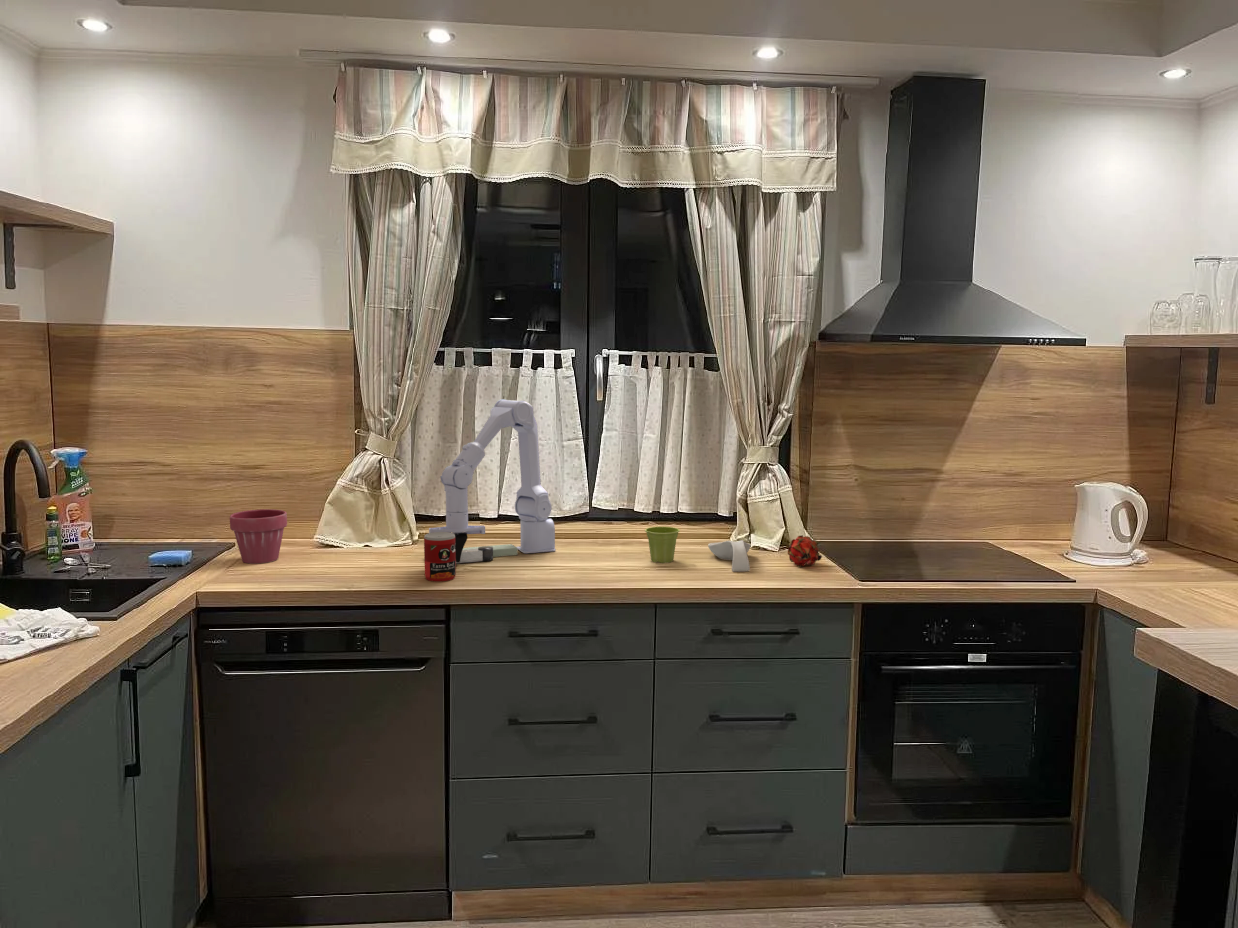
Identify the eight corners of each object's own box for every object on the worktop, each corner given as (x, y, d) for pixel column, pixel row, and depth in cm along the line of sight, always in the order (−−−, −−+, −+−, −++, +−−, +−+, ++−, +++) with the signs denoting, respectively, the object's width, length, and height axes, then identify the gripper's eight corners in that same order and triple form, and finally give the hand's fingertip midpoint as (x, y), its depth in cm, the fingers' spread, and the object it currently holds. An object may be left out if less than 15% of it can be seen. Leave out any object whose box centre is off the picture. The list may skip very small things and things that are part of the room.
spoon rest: (704, 553, 264) (705, 528, 263) (745, 553, 265) (746, 528, 264) (719, 573, 241) (720, 546, 240) (764, 572, 242) (765, 545, 241)
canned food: (429, 583, 227) (429, 539, 226) (420, 576, 234) (420, 533, 233) (460, 579, 230) (459, 536, 229) (450, 573, 237) (449, 530, 236)
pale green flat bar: (511, 550, 264) (511, 544, 264) (517, 554, 259) (517, 547, 259) (427, 558, 254) (427, 550, 254) (431, 562, 249) (431, 554, 249)
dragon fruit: (804, 565, 256) (807, 581, 245) (779, 547, 256) (781, 563, 244) (823, 542, 254) (828, 558, 242) (799, 524, 253) (802, 539, 242)
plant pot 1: (229, 567, 241) (227, 519, 240) (233, 556, 255) (231, 510, 253) (288, 564, 246) (286, 516, 244) (288, 553, 259) (287, 507, 258)
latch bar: (490, 557, 255) (490, 545, 255) (494, 560, 251) (494, 548, 251) (438, 561, 249) (438, 550, 249) (441, 564, 245) (441, 553, 245)
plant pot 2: (653, 566, 247) (653, 533, 246) (639, 558, 256) (639, 527, 255) (685, 563, 250) (685, 531, 249) (670, 556, 259) (670, 525, 258)
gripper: (482, 507, 250) (482, 556, 252) (427, 509, 246) (428, 559, 248) (486, 511, 243) (486, 562, 245) (429, 514, 239) (430, 565, 241)
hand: (457, 561), depth 246 cm, fingers closed, pressing on latch bar
